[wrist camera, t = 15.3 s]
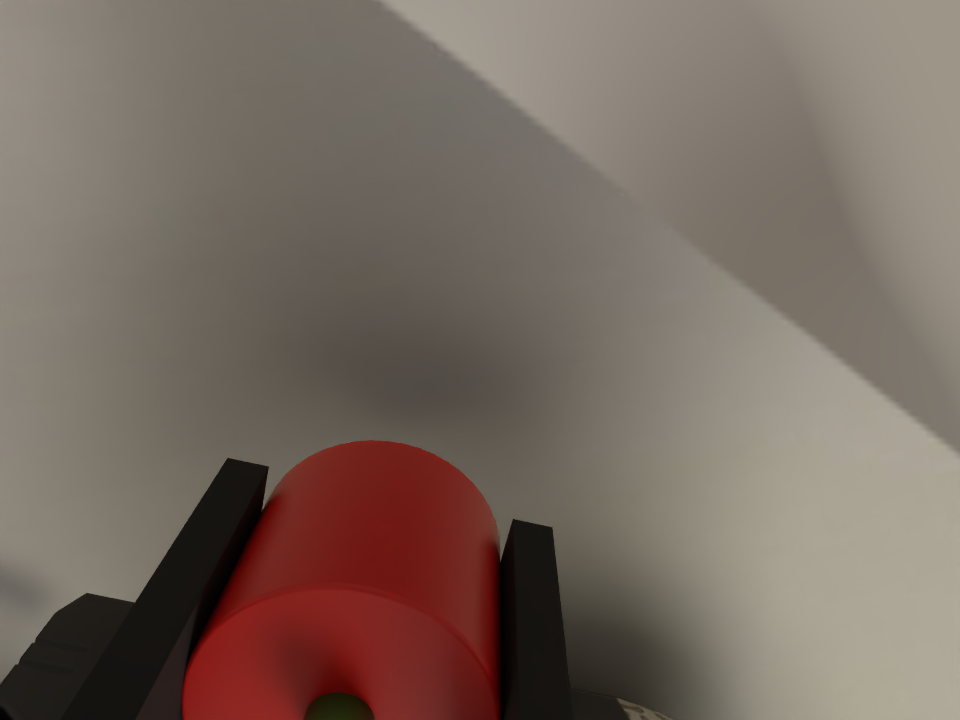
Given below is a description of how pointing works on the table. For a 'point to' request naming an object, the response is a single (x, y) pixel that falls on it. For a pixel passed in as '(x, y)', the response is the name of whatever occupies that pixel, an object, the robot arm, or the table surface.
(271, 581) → the pepper
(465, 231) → the table surface
